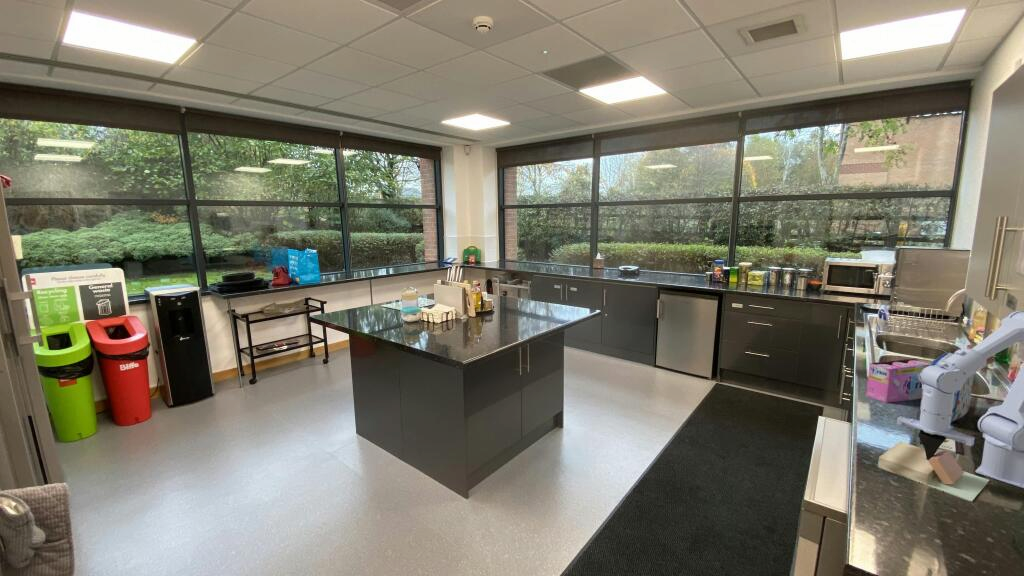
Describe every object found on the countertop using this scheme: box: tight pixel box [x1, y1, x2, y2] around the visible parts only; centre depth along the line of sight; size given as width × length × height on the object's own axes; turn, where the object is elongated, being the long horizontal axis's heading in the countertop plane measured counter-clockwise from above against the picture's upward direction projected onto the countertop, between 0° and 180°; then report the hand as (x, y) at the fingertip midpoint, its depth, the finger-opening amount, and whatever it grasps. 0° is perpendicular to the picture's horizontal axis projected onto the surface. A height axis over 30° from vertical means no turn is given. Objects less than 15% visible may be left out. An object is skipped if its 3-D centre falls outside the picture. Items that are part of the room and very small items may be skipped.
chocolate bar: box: [918, 430, 963, 456], centre depth 131 cm, size 9×1×18 cm
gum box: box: [866, 358, 930, 404], centre depth 164 cm, size 24×8×14 cm, turn 102°
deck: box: [877, 441, 937, 486], centre depth 116 cm, size 10×16×3 cm, turn 121°
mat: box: [926, 470, 990, 503], centre depth 108 cm, size 8×16×1 cm, turn 121°
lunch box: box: [919, 351, 975, 423], centre depth 147 cm, size 28×10×22 cm, turn 126°
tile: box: [928, 450, 965, 485], centre depth 110 cm, size 6×9×2 cm
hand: (929, 459), depth 113 cm, fingers closed
